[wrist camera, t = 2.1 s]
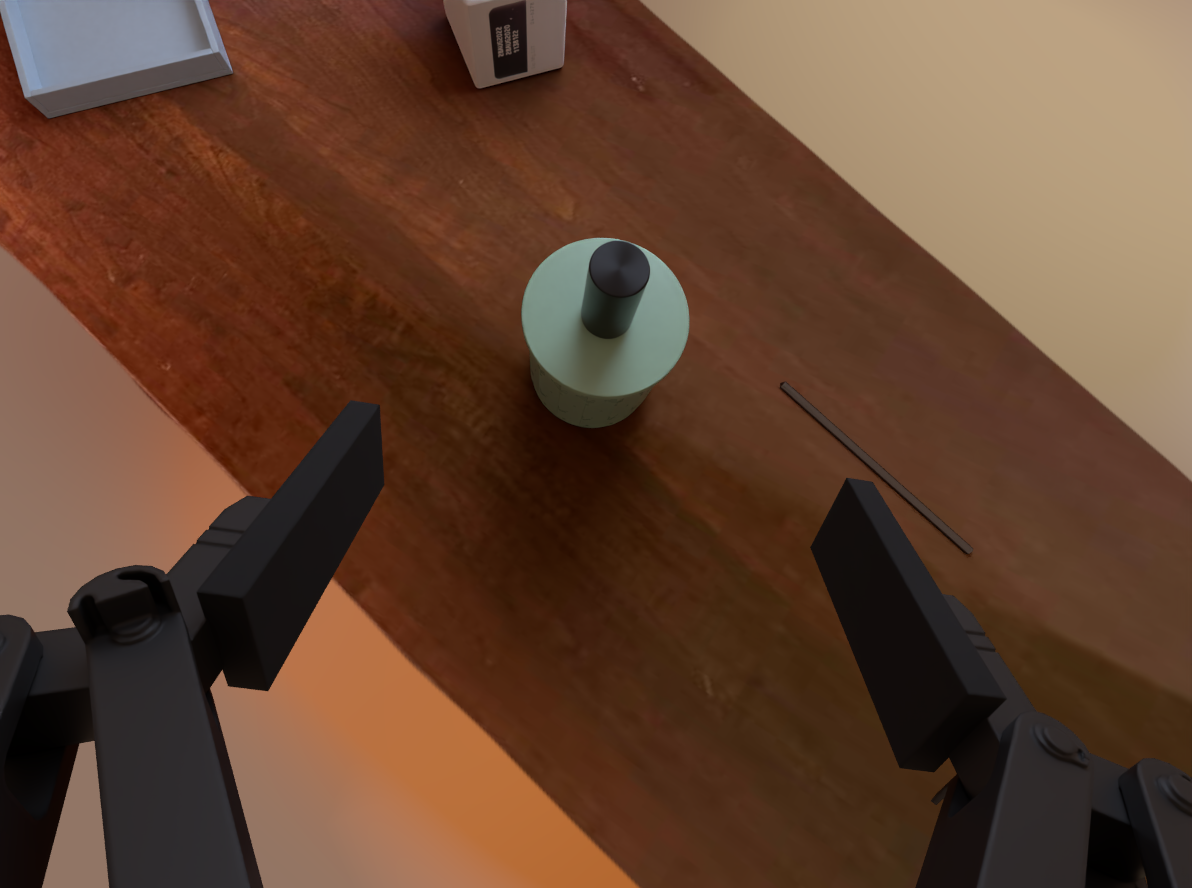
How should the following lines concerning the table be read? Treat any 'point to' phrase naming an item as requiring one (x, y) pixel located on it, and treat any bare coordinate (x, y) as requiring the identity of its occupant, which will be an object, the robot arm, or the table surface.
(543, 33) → the container
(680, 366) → the table surface
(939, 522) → the rod
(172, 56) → the tray
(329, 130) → the table surface
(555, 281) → the lid
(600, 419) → the faceted green cup
